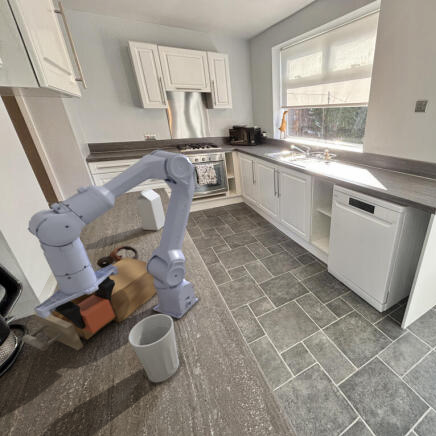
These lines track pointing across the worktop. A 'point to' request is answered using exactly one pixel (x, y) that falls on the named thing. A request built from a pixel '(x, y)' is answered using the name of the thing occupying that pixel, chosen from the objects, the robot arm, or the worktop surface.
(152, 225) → the milk carton
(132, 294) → the cabinet
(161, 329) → the cup
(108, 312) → the block
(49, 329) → the drawer
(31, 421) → the worktop surface
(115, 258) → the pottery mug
